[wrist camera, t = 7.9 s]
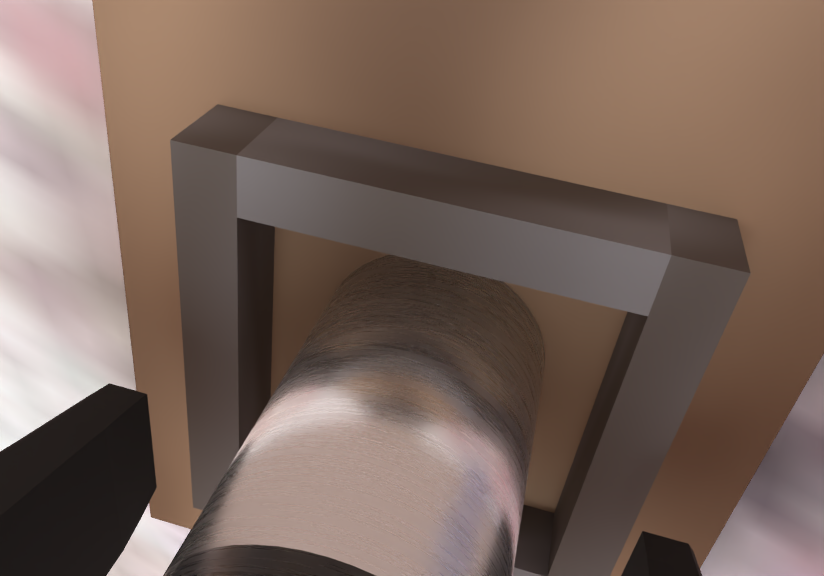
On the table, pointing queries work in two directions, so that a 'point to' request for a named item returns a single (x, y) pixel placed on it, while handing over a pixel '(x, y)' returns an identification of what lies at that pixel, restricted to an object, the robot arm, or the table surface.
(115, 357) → the table surface
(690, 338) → the dock board
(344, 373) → the metal cylinder
